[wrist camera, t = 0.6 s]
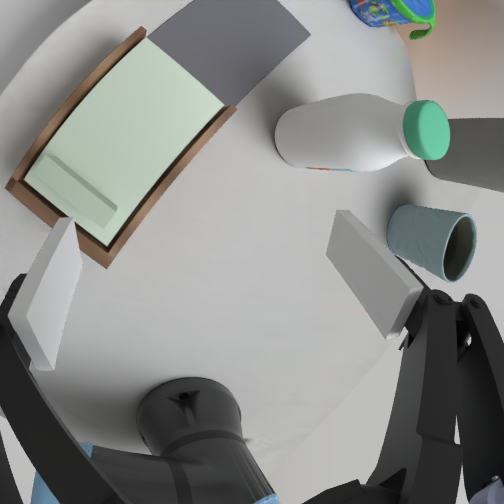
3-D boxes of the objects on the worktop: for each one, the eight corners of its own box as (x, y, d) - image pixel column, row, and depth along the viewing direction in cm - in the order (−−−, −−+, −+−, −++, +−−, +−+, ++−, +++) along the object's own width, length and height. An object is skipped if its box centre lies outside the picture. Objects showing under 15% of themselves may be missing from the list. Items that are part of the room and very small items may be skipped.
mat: (224, 116, 32) (225, 116, 32) (140, 43, 27) (140, 43, 26) (310, 35, 33) (311, 34, 33) (241, -30, 27) (242, -30, 27)
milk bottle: (270, 165, 36) (402, 173, 18) (274, 102, 34) (404, 64, 16) (324, 171, 39) (458, 187, 21) (327, 113, 37) (460, 98, 19)
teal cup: (419, 194, 47) (478, 206, 37) (422, 249, 51) (475, 268, 40) (380, 209, 44) (443, 225, 34) (384, 269, 48) (441, 295, 37)
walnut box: (110, 249, 31) (106, 269, 25) (28, 183, 26) (4, 188, 20) (215, 120, 32) (237, 109, 26) (137, 52, 27) (141, 26, 20)
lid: (107, 243, 26) (104, 257, 22) (28, 178, 22) (9, 181, 17) (220, 107, 27) (238, 96, 22) (145, 42, 22) (149, 20, 18)
